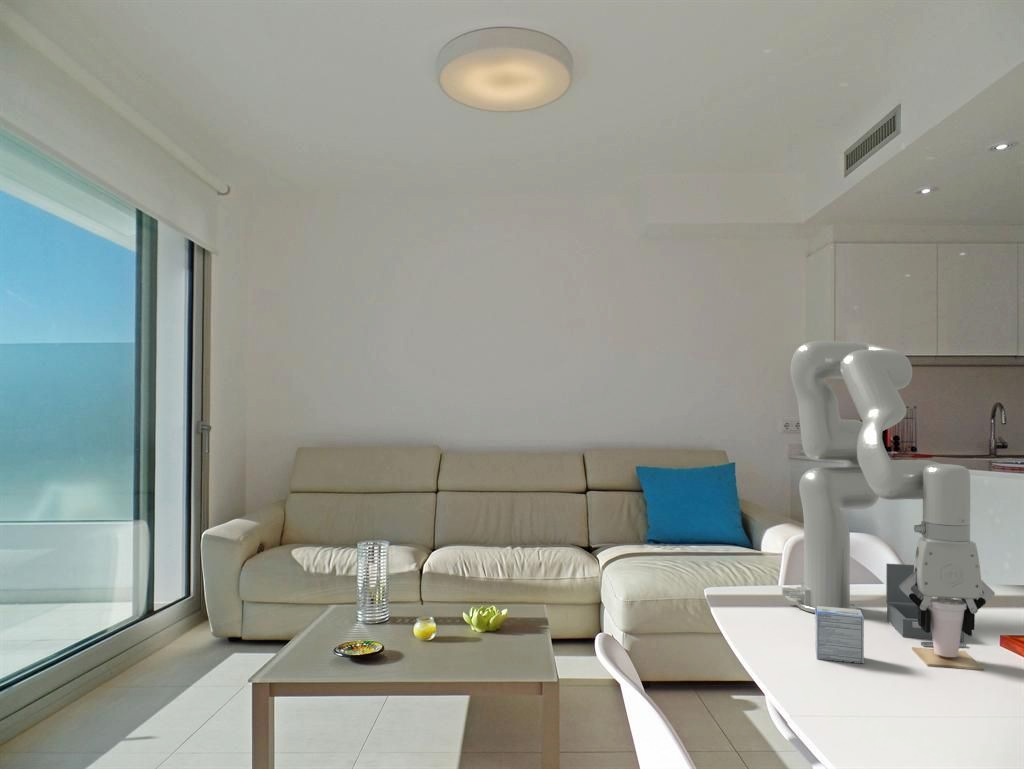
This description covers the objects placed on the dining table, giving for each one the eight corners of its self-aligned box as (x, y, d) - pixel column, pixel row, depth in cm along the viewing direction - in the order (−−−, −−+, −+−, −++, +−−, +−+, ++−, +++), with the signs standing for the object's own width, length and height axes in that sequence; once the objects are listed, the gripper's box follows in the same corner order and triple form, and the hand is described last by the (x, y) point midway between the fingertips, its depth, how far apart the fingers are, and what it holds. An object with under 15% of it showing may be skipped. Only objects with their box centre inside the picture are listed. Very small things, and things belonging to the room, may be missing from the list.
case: (903, 637, 149) (903, 577, 149) (886, 619, 162) (886, 563, 162) (965, 641, 147) (965, 580, 147) (942, 623, 159) (942, 566, 159)
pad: (927, 665, 133) (927, 663, 133) (911, 649, 142) (911, 647, 142) (983, 670, 131) (983, 667, 131) (964, 653, 140) (964, 651, 140)
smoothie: (964, 651, 139) (964, 574, 139) (968, 662, 133) (969, 582, 133) (924, 645, 141) (925, 570, 141) (927, 656, 135) (927, 578, 136)
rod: (923, 648, 144) (923, 643, 144) (920, 646, 145) (920, 641, 145) (966, 649, 144) (966, 644, 144) (963, 647, 145) (963, 642, 145)
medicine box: (861, 657, 138) (861, 609, 138) (864, 665, 134) (864, 615, 134) (814, 651, 140) (815, 605, 141) (816, 659, 136) (816, 611, 136)
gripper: (900, 534, 135) (900, 634, 135) (1008, 538, 132) (1008, 642, 132) (888, 527, 143) (888, 622, 143) (990, 531, 139) (990, 629, 139)
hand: (945, 631), depth 137 cm, fingers closed on smoothie, 6 cm apart
